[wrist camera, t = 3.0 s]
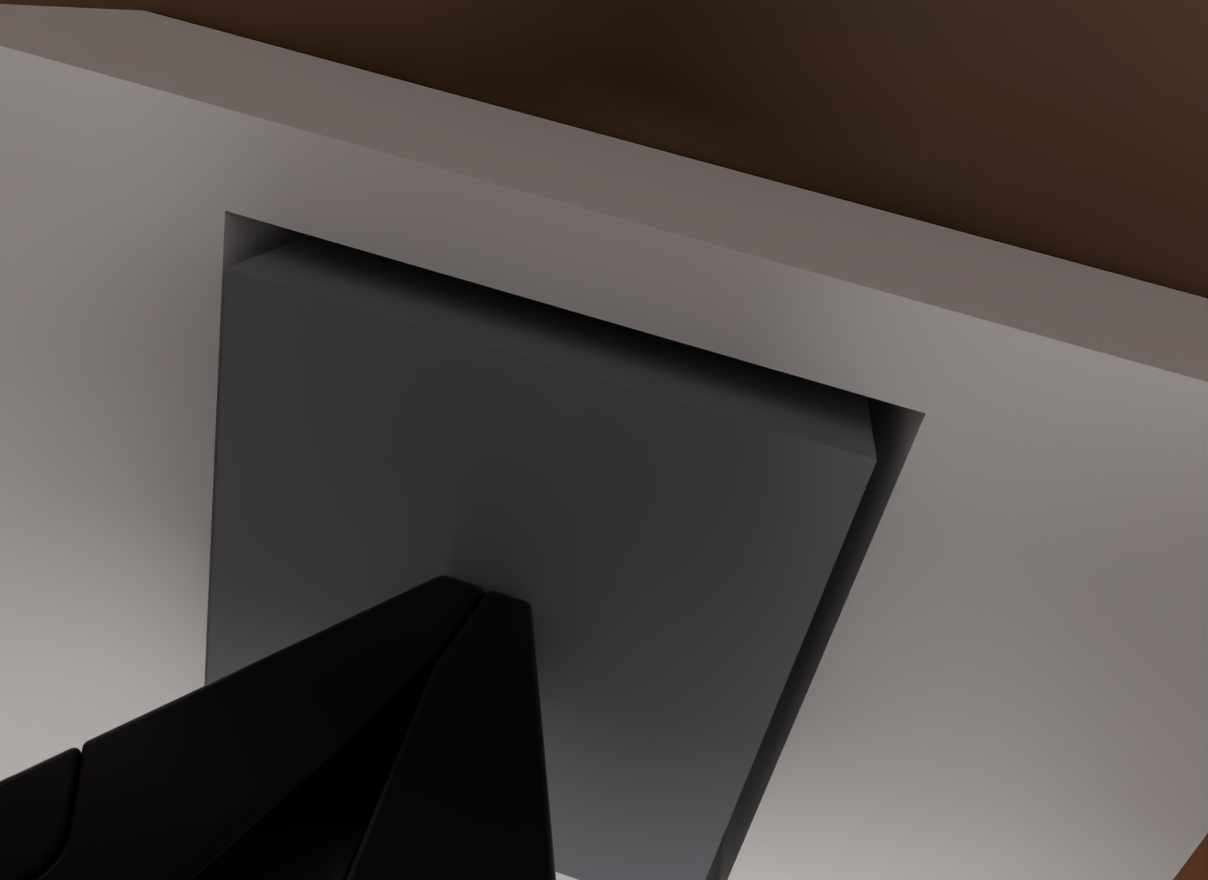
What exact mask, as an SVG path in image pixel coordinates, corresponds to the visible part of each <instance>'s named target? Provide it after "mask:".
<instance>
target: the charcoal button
mask: <svg viewBox="0 0 1208 880" xmlns="http://www.w3.org/2000/svg"><path fill="white" fill-rule="evenodd" d="M876 462H877V457H876V451H875V445H874V439H873V433H872V426H871V420H870V414H869V408H868V402H867V396H864V395H860V394H857V393H853V392H850V391H847V390H843V389H840V388H836V387H833V386H829V385H826V384H822V383H819V382H815V381H812V380H809V379H805V378H802V377H798V376H795V375H791V374H788V373H784V372H781V371H777V370H774V369H771V368H767V367H764V366H760V365H757V364H753V363H750V362H746V361H743V360H739V359H736V358H733V357H729V356H726V355H722V354H719V353H715V352H712V351H708V350H705V349H701V348H698V347H695V346H691V345H688V344H684V343H681V342H677V341H674V340H670V339H667V338H663V337H660V336H657V335H653V334H650V333H646V332H643V331H639V330H636V329H632V328H629V327H625V326H622V325H619V324H615V323H612V322H608V321H605V320H601V319H598V318H594V317H591V316H587V315H584V314H580V313H577V312H574V311H570V310H567V309H563V308H560V307H556V306H553V305H549V304H546V303H542V302H539V301H536V300H532V299H529V298H525V297H522V296H518V295H515V294H511V293H508V292H504V291H501V290H498V289H494V288H491V287H487V286H484V285H480V284H477V283H473V282H470V281H466V280H463V279H460V278H456V277H453V276H449V275H446V274H442V273H439V272H435V271H432V270H428V269H425V268H422V267H418V266H415V265H411V264H408V263H404V262H401V261H397V260H394V259H390V258H387V257H384V256H380V255H377V254H373V253H370V252H366V251H363V250H359V249H356V248H352V247H349V246H346V245H342V244H339V243H335V242H332V241H328V240H325V239H321V238H318V237H314V236H311V235H309V236H307V237H304V238H301V239H299V240H296V241H294V242H291V243H289V244H286V245H283V246H281V247H278V248H276V249H273V250H271V251H268V252H266V253H263V254H260V255H258V256H255V257H253V258H250V259H248V260H245V261H243V262H240V263H237V264H235V265H232V266H230V267H227V268H226V278H225V300H224V322H223V344H222V366H221V388H220V410H219V432H218V454H217V476H216V498H215V520H214V542H213V564H212V586H211V608H210V630H209V652H208V674H207V684H209V683H211V682H213V681H216V680H218V679H220V678H222V677H224V676H226V675H228V674H230V673H233V672H235V671H237V670H239V669H241V668H243V667H245V666H248V665H250V664H252V663H254V662H256V661H258V660H260V659H262V658H265V657H267V656H269V655H271V654H273V653H275V652H277V651H279V650H282V649H284V648H286V647H288V646H290V645H292V644H294V643H297V642H299V641H301V640H303V639H305V638H307V637H309V636H311V635H314V634H316V633H318V632H320V631H322V630H324V629H326V628H328V627H331V626H333V625H335V624H337V623H339V622H341V621H343V620H346V619H348V618H350V617H352V616H354V615H356V614H358V613H360V612H363V611H365V610H367V609H369V608H371V607H373V606H375V605H377V604H380V603H382V602H384V601H386V600H388V599H390V598H392V597H395V596H397V595H399V594H401V593H403V592H405V591H407V590H409V589H412V588H414V587H416V586H418V585H420V584H422V583H424V582H426V581H429V580H431V579H433V578H435V577H438V576H442V575H445V576H450V577H453V578H456V579H459V580H462V581H465V582H468V583H472V584H475V585H478V586H480V587H481V588H482V589H483V590H484V594H486V593H487V592H489V591H496V592H500V593H503V594H506V595H509V596H512V597H515V598H518V599H522V600H525V601H527V602H528V603H529V604H530V605H531V607H532V613H533V624H534V635H535V647H536V658H537V669H538V681H539V692H540V703H541V715H542V726H543V737H544V748H545V760H546V771H547V782H548V794H549V805H550V816H551V828H552V839H553V850H554V862H555V872H558V873H561V874H563V875H566V876H569V877H572V878H575V879H578V880H705V879H706V877H707V874H708V872H709V869H710V867H711V865H712V862H713V860H714V857H715V855H716V852H717V850H718V847H719V845H720V843H721V840H722V838H723V835H724V833H725V830H726V828H727V826H728V823H729V821H730V818H731V816H732V813H733V811H734V808H735V806H736V804H737V801H738V799H739V796H740V794H741V791H742V789H743V786H744V784H745V782H746V779H747V777H748V774H749V772H750V769H751V767H752V764H753V762H754V760H755V757H756V755H757V752H758V750H759V747H760V745H761V743H762V740H763V738H764V735H765V733H766V730H767V728H768V725H769V723H770V721H771V718H772V716H773V713H774V711H775V708H776V706H777V703H778V701H779V699H780V696H781V694H782V691H783V689H784V686H785V684H786V681H787V679H788V677H789V674H790V672H791V669H792V667H793V664H794V662H795V660H796V657H797V655H798V652H799V650H800V647H801V645H802V642H803V640H804V638H805V635H806V633H807V630H808V628H809V625H810V623H811V620H812V618H813V616H814V613H815V611H816V608H817V606H818V603H819V601H820V598H821V596H822V594H823V591H824V589H825V586H826V584H827V581H828V579H829V577H830V574H831V572H832V569H833V567H834V564H835V562H836V559H837V557H838V555H839V552H840V550H841V547H842V545H843V542H844V540H845V537H846V535H847V533H848V530H849V528H850V525H851V523H852V520H853V518H854V515H855V513H856V511H857V508H858V506H859V503H860V501H861V498H862V496H863V494H864V491H865V489H866V486H867V484H868V481H869V479H870V476H871V474H872V472H873V469H874V467H875V464H876Z"/></svg>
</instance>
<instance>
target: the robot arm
mask: <svg viewBox="0 0 1208 880" xmlns="http://www.w3.org/2000/svg"><path fill="white" fill-rule="evenodd" d="M0 880H556V873H555V862H554V850H553V839H552V828H551V816H550V805H549V794H548V782H547V771H546V760H545V748H544V737H543V726H542V715H541V703H540V692H539V681H538V669H537V658H536V647H535V635H534V624H533V613H532V607H531V605H530V604H529V603H528V602H527V601H525V600H522V599H518V598H515V597H512V596H509V595H506V594H503V593H500V592H496V591H489V592H487V593H486V594H484V590H483V589H482V588H481V587H480V586H478V585H475V584H472V583H468V582H465V581H462V580H459V579H456V578H453V577H450V576H445V575H442V576H438V577H435V578H433V579H431V580H429V581H426V582H424V583H422V584H420V585H418V586H416V587H414V588H412V589H409V590H407V591H405V592H403V593H401V594H399V595H397V596H395V597H392V598H390V599H388V600H386V601H384V602H382V603H380V604H377V605H375V606H373V607H371V608H369V609H367V610H365V611H363V612H360V613H358V614H356V615H354V616H352V617H350V618H348V619H346V620H343V621H341V622H339V623H337V624H335V625H333V626H331V627H328V628H326V629H324V630H322V631H320V632H318V633H316V634H314V635H311V636H309V637H307V638H305V639H303V640H301V641H299V642H297V643H294V644H292V645H290V646H288V647H286V648H284V649H282V650H279V651H277V652H275V653H273V654H271V655H269V656H267V657H265V658H262V659H260V660H258V661H256V662H254V663H252V664H250V665H248V666H245V667H243V668H241V669H239V670H237V671H235V672H233V673H230V674H228V675H226V676H224V677H222V678H220V679H218V680H216V681H213V682H211V683H209V684H207V685H205V686H203V687H201V688H199V689H196V690H194V691H192V692H190V693H188V694H186V695H184V696H182V697H179V698H177V699H175V700H173V701H171V702H169V703H167V704H164V705H162V706H160V707H158V708H156V709H154V710H152V711H150V712H147V713H145V714H143V715H141V716H139V717H137V718H135V719H133V720H130V721H128V722H126V723H124V724H122V725H120V726H118V727H115V728H113V729H111V730H109V731H107V732H105V733H103V734H101V735H98V736H96V737H94V738H92V739H90V740H88V741H86V742H85V743H84V745H83V747H82V752H81V751H80V750H79V749H78V748H75V747H73V748H70V749H68V750H66V751H63V752H61V753H59V754H57V755H55V756H53V757H51V758H49V759H46V760H44V761H42V762H40V763H38V764H36V765H34V766H31V767H29V768H27V769H25V770H23V771H21V772H19V773H16V774H14V775H12V776H10V777H7V778H5V779H3V780H1V781H0Z"/></svg>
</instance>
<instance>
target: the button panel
mask: <svg viewBox="0 0 1208 880" xmlns="http://www.w3.org/2000/svg"><path fill="white" fill-rule="evenodd" d="M309 235H311V236H314V237H318V238H321V239H325V240H328V241H332V242H335V243H339V244H342V245H346V246H349V247H352V248H356V249H359V250H363V251H366V252H370V253H373V254H377V255H380V256H384V257H387V258H390V259H394V260H397V261H401V262H404V263H408V264H411V265H415V266H418V267H422V268H425V269H428V270H432V271H435V272H439V273H442V274H446V275H449V276H453V277H456V278H460V279H463V280H466V281H470V282H473V283H477V284H480V285H484V286H487V287H491V288H494V289H498V290H501V291H504V292H508V293H511V294H515V295H518V296H522V297H525V298H529V299H532V300H536V301H539V302H542V303H546V304H549V305H553V306H556V307H560V308H563V309H567V310H570V311H574V312H577V313H580V314H584V315H587V316H591V317H594V318H598V319H601V320H605V321H608V322H612V323H615V324H619V325H622V326H625V327H629V328H632V329H636V330H639V331H643V332H646V333H650V334H653V335H657V336H660V337H663V338H667V339H670V340H674V341H677V342H681V343H684V344H688V345H691V346H695V347H698V348H701V349H705V350H708V351H712V352H715V353H719V354H722V355H726V356H729V357H733V358H736V359H739V360H743V361H746V362H750V363H753V364H757V365H760V366H764V367H767V368H771V369H774V370H777V371H781V372H784V373H788V374H791V375H795V376H798V377H802V378H805V379H809V380H812V381H815V382H819V383H822V384H826V385H829V386H833V387H836V388H840V389H843V390H847V391H850V392H853V393H857V394H860V395H864V396H867V402H868V408H869V414H870V420H871V426H872V433H873V439H874V445H875V451H876V457H877V462H876V464H875V467H874V469H873V472H872V474H871V476H870V479H869V481H868V484H867V486H866V489H865V491H864V494H863V496H862V498H861V501H860V503H859V506H858V508H857V511H856V513H855V515H854V518H853V520H852V523H851V525H850V528H849V530H848V533H847V535H846V537H845V540H844V542H843V545H842V547H841V550H840V552H839V555H838V557H837V559H836V562H835V564H834V567H833V569H832V572H831V574H830V577H829V579H828V581H827V584H826V586H825V589H824V591H823V594H822V596H821V598H820V601H819V603H818V606H817V608H816V611H815V613H814V616H813V618H812V620H811V623H810V625H809V628H808V630H807V633H806V635H805V638H804V640H803V642H802V645H801V647H800V650H799V652H798V655H797V657H796V660H795V662H794V664H793V667H792V669H791V672H790V674H789V677H788V679H787V681H786V684H785V686H784V689H783V691H782V694H781V696H780V699H779V701H778V703H777V706H776V708H775V711H774V713H773V716H772V718H771V721H770V723H769V725H768V728H767V730H766V733H765V735H764V738H763V740H762V743H761V745H760V747H759V750H758V752H757V755H756V757H755V760H754V762H753V764H752V767H751V769H750V772H749V774H748V777H747V779H746V782H745V784H744V786H743V789H742V791H741V794H740V796H739V799H738V801H737V804H736V806H735V808H734V811H733V813H732V816H731V818H730V821H729V823H728V826H727V828H726V830H725V833H724V835H723V838H722V840H721V843H720V845H719V847H718V850H717V852H716V855H715V857H714V860H713V862H712V865H711V867H710V869H709V872H708V874H707V877H706V879H705V880H1173V879H1174V878H1175V876H1176V875H1177V873H1178V872H1179V871H1180V869H1181V868H1182V867H1183V865H1184V864H1185V863H1186V861H1187V860H1188V859H1189V857H1190V856H1191V855H1192V853H1193V852H1194V851H1195V849H1196V848H1197V847H1198V845H1199V844H1200V843H1201V841H1202V840H1203V839H1204V837H1205V836H1206V835H1207V833H1208V298H1204V297H1200V296H1197V295H1193V294H1189V293H1186V292H1182V291H1178V290H1175V289H1171V288H1167V287H1163V286H1160V285H1156V284H1152V283H1149V282H1145V281H1141V280H1138V279H1134V278H1130V277H1127V276H1123V275H1119V274H1115V273H1112V272H1108V271H1104V270H1101V269H1097V268H1093V267H1090V266H1086V265H1082V264H1079V263H1075V262H1071V261H1067V260H1064V259H1060V258H1056V257H1053V256H1049V255H1045V254H1042V253H1038V252H1034V251H1031V250H1027V249H1023V248H1019V247H1016V246H1012V245H1008V244H1005V243H1001V242H997V241H994V240H990V239H986V238H983V237H979V236H975V235H971V234H968V233H964V232H960V231H957V230H953V229H949V228H946V227H942V226H938V225H935V224H931V223H927V222H923V221H920V220H916V219H912V218H909V217H905V216H901V215H898V214H894V213H890V212H886V211H883V210H879V209H875V208H872V207H868V206H864V205H861V204H857V203H853V202H850V201H846V200H842V199H838V198H835V197H831V196H827V195H824V194H820V193H816V192H813V191H809V190H805V189H802V188H798V187H794V186H790V185H787V184H783V183H779V182H776V181H772V180H768V179H765V178H761V177H757V176H754V175H750V174H746V173H742V172H739V171H735V170H731V169H728V168H724V167H720V166H717V165H713V164H709V163H706V162H702V161H698V160H694V159H691V158H687V157H683V156H680V155H676V154H672V153H669V152H665V151H661V150H658V149H654V148H650V147H646V146H643V145H639V144H635V143H632V142H628V141H624V140H621V139H617V138H613V137H610V136H606V135H602V134H598V133H595V132H591V131H587V130H584V129H580V128H576V127H573V126H569V125H565V124H562V123H558V122H554V121H550V120H547V119H543V118H539V117H536V116H532V115H528V114H525V113H521V112H517V111H513V110H510V109H506V108H502V107H499V106H495V105H491V104H488V103H484V102H480V101H477V100H473V99H469V98H465V97H462V96H458V95H454V94H451V93H447V92H443V91H440V90H436V89H432V88H429V87H425V86H421V85H417V84H414V83H410V82H406V81H403V80H399V79H395V78H392V77H388V76H384V75H381V74H377V73H373V72H369V71H366V70H362V69H358V68H355V67H351V66H347V65H344V64H340V63H336V62H333V61H329V60H325V59H321V58H318V57H314V56H310V55H307V54H303V53H299V52H296V51H292V50H288V49H285V48H281V47H277V46H273V45H270V44H266V43H262V42H259V41H255V40H251V39H248V38H244V37H240V36H237V35H233V34H229V33H225V32H222V31H218V30H214V29H211V28H207V27H203V26H200V25H196V24H192V23H189V22H185V21H181V20H177V19H174V18H170V17H166V16H163V15H159V14H155V13H152V12H148V11H142V10H120V9H98V8H76V7H54V6H32V5H10V4H0V781H1V780H3V779H5V778H7V777H10V776H12V775H14V774H16V773H19V772H21V771H23V770H25V769H27V768H29V767H31V766H34V765H36V764H38V763H40V762H42V761H44V760H46V759H49V758H51V757H53V756H55V755H57V754H59V753H61V752H63V751H66V750H68V749H70V748H73V747H75V748H78V749H79V750H80V751H81V752H82V747H83V745H84V743H85V742H86V741H88V740H90V739H92V738H94V737H96V736H98V735H101V734H103V733H105V732H107V731H109V730H111V729H113V728H115V727H118V726H120V725H122V724H124V723H126V722H128V721H130V720H133V719H135V718H137V717H139V716H141V715H143V714H145V713H147V712H150V711H152V710H154V709H156V708H158V707H160V706H162V705H164V704H167V703H169V702H171V701H173V700H175V699H177V698H179V697H182V696H184V695H186V694H188V693H190V692H192V691H194V690H196V689H199V688H201V687H203V686H205V685H207V674H208V652H209V630H210V608H211V586H212V564H213V542H214V520H215V498H216V476H217V454H218V432H219V410H220V388H221V366H222V344H223V322H224V300H225V278H226V268H227V267H230V266H232V265H235V264H237V263H240V262H243V261H245V260H248V259H250V258H253V257H255V256H258V255H260V254H263V253H266V252H268V251H271V250H273V249H276V248H278V247H281V246H283V245H286V244H289V243H291V242H294V241H296V240H299V239H301V238H304V237H307V236H309ZM555 873H556V880H578V879H575V878H572V877H569V876H566V875H563V874H561V873H558V872H555Z"/></svg>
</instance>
